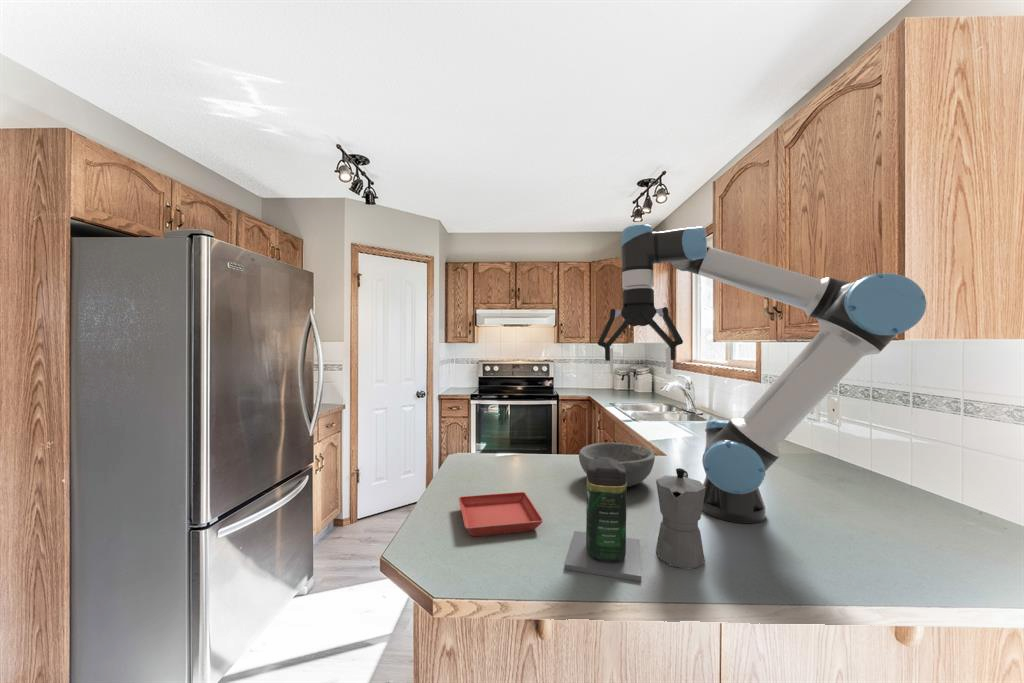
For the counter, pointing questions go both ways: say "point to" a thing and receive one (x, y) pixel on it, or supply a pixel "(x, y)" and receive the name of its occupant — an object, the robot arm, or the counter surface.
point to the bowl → (622, 459)
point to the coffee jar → (606, 509)
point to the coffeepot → (680, 520)
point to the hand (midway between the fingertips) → (639, 374)
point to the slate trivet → (618, 569)
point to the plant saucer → (499, 513)
